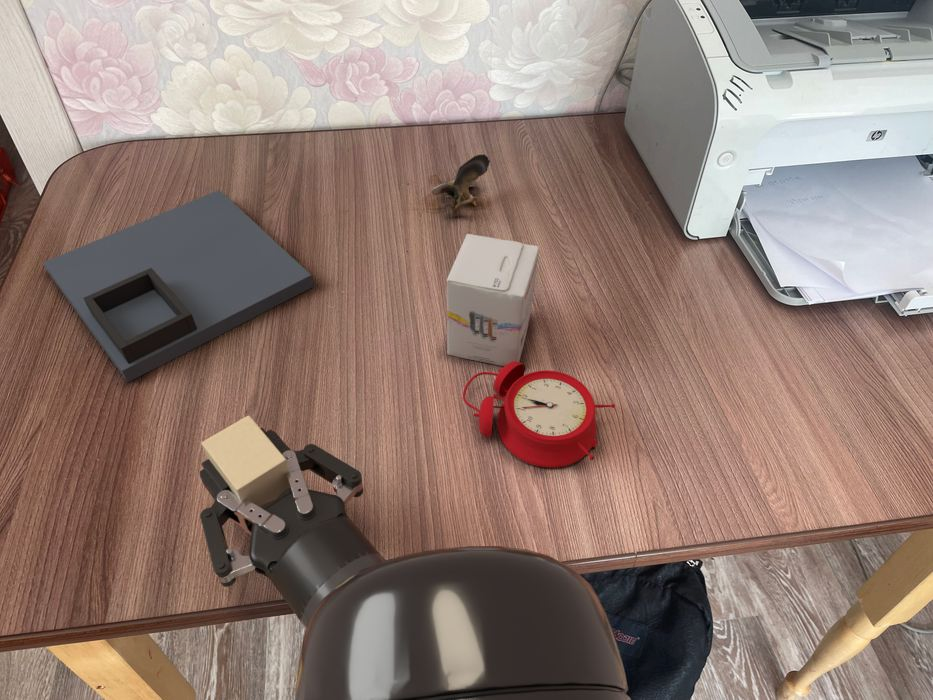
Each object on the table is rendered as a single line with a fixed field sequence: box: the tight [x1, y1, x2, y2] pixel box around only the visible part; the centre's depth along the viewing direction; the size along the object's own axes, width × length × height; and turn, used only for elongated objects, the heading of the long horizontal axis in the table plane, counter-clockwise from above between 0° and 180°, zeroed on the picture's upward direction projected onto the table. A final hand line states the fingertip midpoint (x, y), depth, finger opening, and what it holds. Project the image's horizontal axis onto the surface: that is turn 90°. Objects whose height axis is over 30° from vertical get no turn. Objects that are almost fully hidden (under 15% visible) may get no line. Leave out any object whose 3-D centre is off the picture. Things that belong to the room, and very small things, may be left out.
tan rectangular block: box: [200, 415, 290, 507], centre depth 62 cm, size 4×6×9 cm
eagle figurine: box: [431, 153, 491, 218], centre depth 99 cm, size 8×7×9 cm
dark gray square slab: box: [42, 189, 314, 383], centre depth 87 cm, size 24×23×4 cm
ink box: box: [446, 233, 540, 367], centre depth 79 cm, size 9×9×12 cm
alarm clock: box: [462, 361, 616, 469], centre depth 74 cm, size 10×6×15 cm
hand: (234, 450), depth 62 cm, fingers closed on tan rectangular block, 4 cm apart
